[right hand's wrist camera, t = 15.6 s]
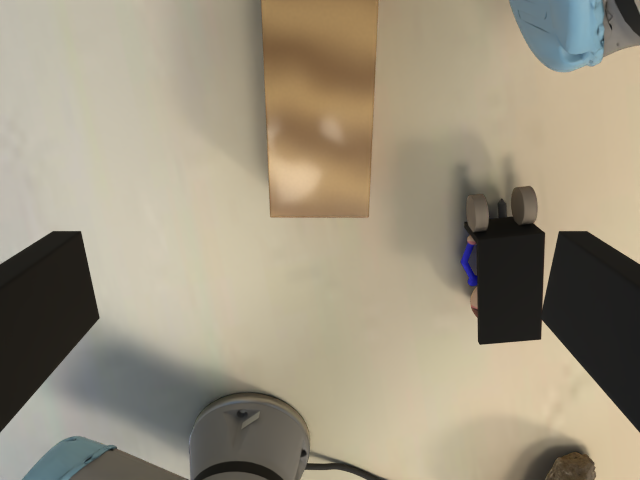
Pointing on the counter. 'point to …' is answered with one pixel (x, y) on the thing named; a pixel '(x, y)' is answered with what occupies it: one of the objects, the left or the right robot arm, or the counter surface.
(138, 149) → the counter surface
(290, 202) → the wide beam
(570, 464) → the fossil
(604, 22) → the left robot arm
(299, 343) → the counter surface
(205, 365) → the counter surface
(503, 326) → the figurine character
